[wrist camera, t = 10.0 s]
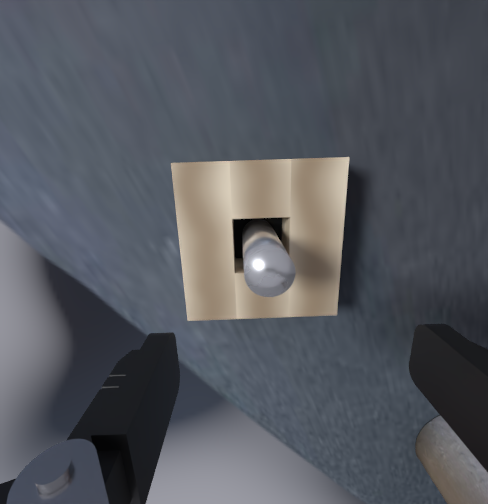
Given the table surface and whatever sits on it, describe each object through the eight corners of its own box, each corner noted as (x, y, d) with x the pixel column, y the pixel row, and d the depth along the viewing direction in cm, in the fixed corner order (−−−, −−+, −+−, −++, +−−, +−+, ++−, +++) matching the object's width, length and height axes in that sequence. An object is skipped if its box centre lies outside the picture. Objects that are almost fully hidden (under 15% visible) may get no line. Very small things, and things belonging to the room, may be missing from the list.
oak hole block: (331, 159, 23) (349, 157, 19) (322, 294, 27) (336, 315, 23) (182, 164, 23) (170, 162, 19) (195, 299, 27) (187, 320, 23)
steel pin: (273, 218, 25) (296, 248, 15) (273, 249, 25) (294, 296, 16) (241, 219, 24) (243, 250, 15) (242, 250, 25) (244, 298, 16)
